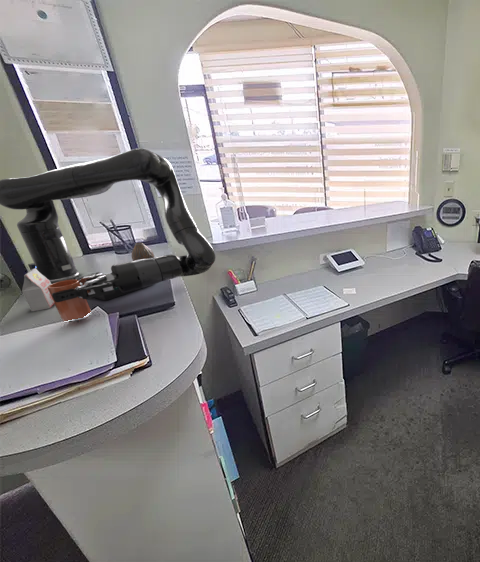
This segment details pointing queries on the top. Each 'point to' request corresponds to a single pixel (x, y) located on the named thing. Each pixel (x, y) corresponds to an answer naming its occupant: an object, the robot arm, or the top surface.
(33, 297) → the milk carton
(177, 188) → the robot arm
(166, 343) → the top surface
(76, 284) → the cup
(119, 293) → the scale
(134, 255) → the brown coconut
